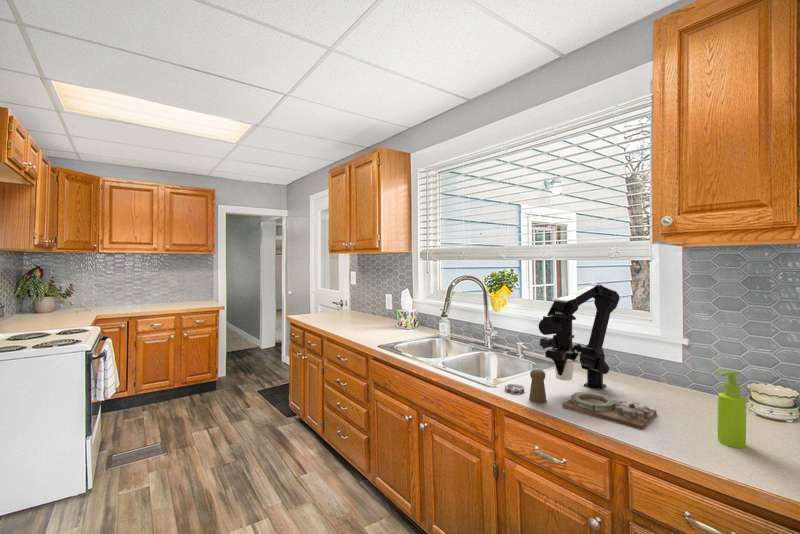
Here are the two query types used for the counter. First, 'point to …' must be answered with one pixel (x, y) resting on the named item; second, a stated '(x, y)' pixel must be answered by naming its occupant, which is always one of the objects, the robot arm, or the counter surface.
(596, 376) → the robot arm
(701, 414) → the counter surface
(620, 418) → the gear board
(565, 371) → the white cylinder
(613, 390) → the counter surface
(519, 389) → the gear
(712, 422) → the counter surface
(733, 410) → the soap dispenser
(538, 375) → the brown pepper mill
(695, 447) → the counter surface
